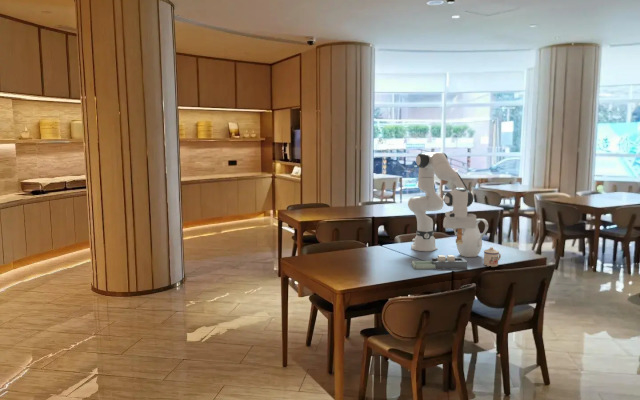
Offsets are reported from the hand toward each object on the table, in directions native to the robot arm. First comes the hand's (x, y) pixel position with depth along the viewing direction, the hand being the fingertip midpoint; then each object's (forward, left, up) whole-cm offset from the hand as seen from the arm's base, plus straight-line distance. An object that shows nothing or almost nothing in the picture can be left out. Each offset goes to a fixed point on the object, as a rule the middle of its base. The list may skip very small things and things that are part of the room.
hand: (459, 235), depth 318 cm
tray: (0, -22, -20) cm, 30 cm away
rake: (0, 0, -5) cm, 5 cm away
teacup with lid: (-3, +23, -20) cm, 31 cm away
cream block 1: (0, -11, -17) cm, 20 cm away
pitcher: (-25, +17, -20) cm, 37 cm away
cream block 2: (0, -5, -17) cm, 18 cm away
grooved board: (0, -6, -20) cm, 21 cm away
